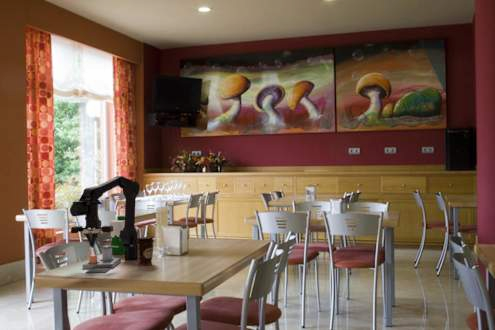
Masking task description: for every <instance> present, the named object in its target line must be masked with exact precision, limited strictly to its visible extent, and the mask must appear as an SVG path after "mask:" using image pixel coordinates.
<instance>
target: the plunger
mask: <svg viewBox="0 0 495 330" xmlns="http://www.w3.org/2000/svg"><path fill="white" fill-rule="evenodd" d="M97 259H98V255H97V254H90V255H88V261H89V264H97Z"/></svg>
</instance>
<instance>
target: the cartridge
mask: <svg viewBox="0 0 495 330" xmlns="http://www.w3.org/2000/svg"><path fill="white" fill-rule="evenodd" d="M101 253H102V254H101V258H102V261H112V258H113V254H112V246H111V245H103V246H101Z"/></svg>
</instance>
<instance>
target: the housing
mask: <svg viewBox="0 0 495 330" xmlns="http://www.w3.org/2000/svg"><path fill="white" fill-rule="evenodd" d="M121 262H122V258H121V257H112V261H102V257H101V258H98V257H97V264H89V260H88V261H86V262H84V263H83V264H82V270H90V269H91V268H111V269H114V268H115V267H116V266H118V265H119V264H120V263H121Z"/></svg>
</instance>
